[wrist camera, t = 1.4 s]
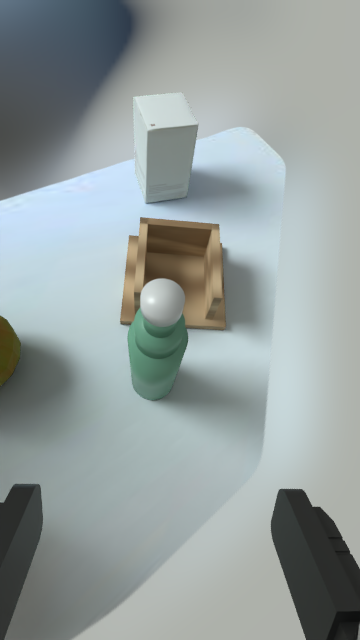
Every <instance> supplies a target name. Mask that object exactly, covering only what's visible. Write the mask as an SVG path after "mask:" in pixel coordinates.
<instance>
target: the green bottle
mask: <svg viewBox="0 0 360 640" xmlns="http://www.w3.org/2000/svg"><path fill="white" fill-rule="evenodd" d="M184 304H185V294H184V291H183V290H182V288H181V287H180V286H179V285H178V284H177V283H176V282H174V281H172V280H169V279H163V278H162V279H155V280H152V281H150V282H149V283H147V284H146V285H145V286H144V288H143V289H142V291H141V296H140V308H139V310H138V311H137V313H136V315H135V318H134V321H133V322H132V324H131V326H130V328H129V331H128V347H129V357H130V367H131V377H132V384H133V387H134V389H135V391H136V392H137V394H139V395H140V396H141V397H143V398H145V399H148V400H157V399H160V398H163V397H164V396H166V395H167V394H168V393H169V392H170V390H171V388H172V386H173V383H174V381H175V378H176V375H177V372H178V369H179V367H180V364H181V361H182V358H183V355H184V353H185V350H186V347H187V343H188V333H187V330H186V327H185V318H184V315H183V313H182V311H183V308H184Z"/></svg>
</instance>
